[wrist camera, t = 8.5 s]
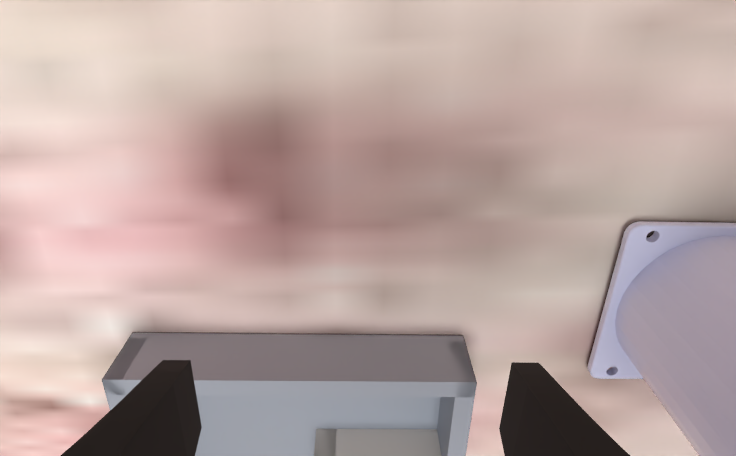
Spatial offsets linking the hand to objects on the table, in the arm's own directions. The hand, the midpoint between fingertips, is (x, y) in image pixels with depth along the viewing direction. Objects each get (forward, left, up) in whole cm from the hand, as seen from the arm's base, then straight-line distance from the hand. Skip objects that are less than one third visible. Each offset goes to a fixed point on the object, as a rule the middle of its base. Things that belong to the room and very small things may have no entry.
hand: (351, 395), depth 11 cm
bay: (+3, +15, -10) cm, 18 cm away
